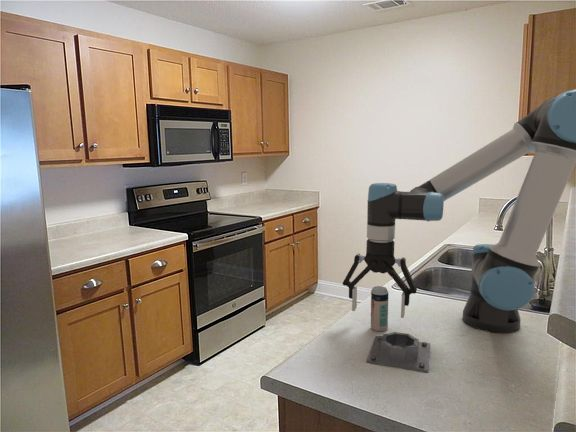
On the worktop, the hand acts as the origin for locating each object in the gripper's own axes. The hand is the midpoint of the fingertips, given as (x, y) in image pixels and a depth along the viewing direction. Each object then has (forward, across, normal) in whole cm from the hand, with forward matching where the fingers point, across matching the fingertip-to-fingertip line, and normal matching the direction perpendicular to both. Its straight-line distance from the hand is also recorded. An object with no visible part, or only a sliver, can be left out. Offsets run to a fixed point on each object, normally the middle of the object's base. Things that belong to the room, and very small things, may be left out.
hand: (377, 312), depth 116 cm
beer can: (+5, 0, 0) cm, 5 cm away
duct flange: (+5, -8, +13) cm, 16 cm away
